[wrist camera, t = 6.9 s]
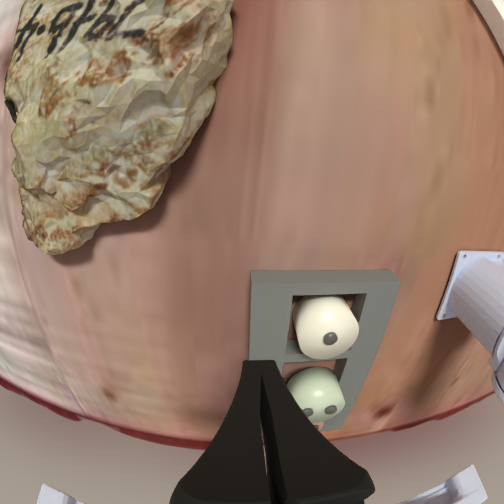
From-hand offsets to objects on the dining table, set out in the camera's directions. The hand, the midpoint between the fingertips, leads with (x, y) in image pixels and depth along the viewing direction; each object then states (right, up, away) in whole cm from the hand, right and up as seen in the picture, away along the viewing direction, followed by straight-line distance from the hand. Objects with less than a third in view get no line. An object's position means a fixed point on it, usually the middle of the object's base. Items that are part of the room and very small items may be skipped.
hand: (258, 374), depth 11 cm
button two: (+5, -7, +12) cm, 15 cm away
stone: (-11, +17, +4) cm, 21 cm away
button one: (+6, 0, +11) cm, 13 cm away
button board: (+5, -6, +14) cm, 16 cm away
